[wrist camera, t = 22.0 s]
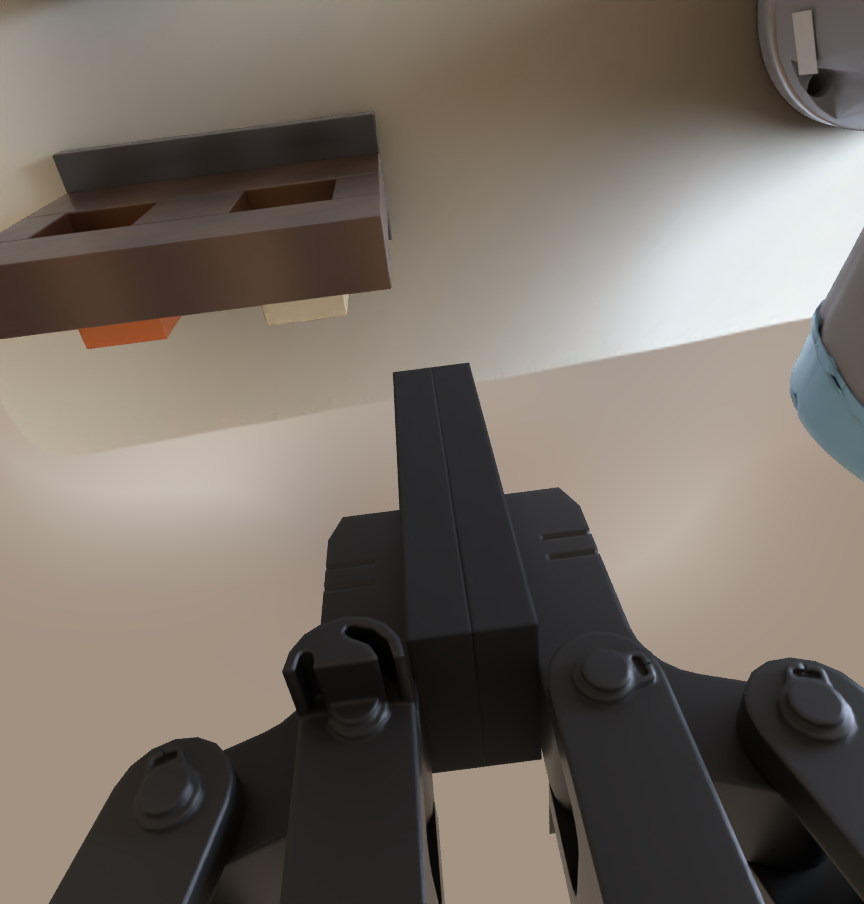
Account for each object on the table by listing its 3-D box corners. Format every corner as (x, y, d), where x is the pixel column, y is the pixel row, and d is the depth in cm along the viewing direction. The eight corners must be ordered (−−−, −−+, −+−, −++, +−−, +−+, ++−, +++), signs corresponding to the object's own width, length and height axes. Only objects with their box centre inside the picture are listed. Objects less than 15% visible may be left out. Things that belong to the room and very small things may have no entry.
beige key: (336, 212, 33) (331, 234, 30) (349, 287, 36) (347, 315, 32) (258, 222, 33) (245, 245, 30) (277, 296, 36) (267, 326, 32)
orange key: (161, 235, 33) (137, 259, 30) (186, 308, 36) (166, 339, 32) (83, 245, 33) (51, 270, 30) (113, 318, 36) (86, 349, 32)
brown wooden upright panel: (373, 110, 37) (372, 161, 24) (391, 234, 41) (398, 333, 28) (60, 151, 37) (-102, 222, 24) (107, 271, 41) (-11, 386, 28)
